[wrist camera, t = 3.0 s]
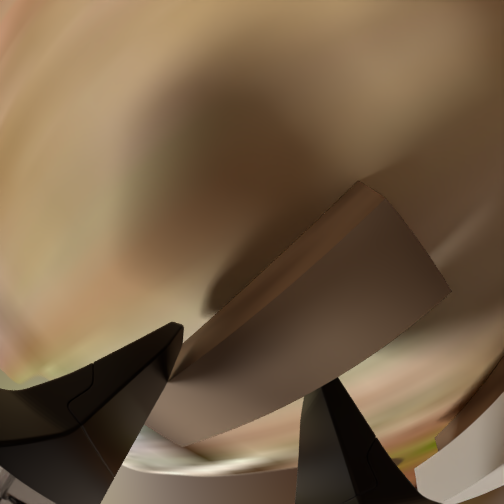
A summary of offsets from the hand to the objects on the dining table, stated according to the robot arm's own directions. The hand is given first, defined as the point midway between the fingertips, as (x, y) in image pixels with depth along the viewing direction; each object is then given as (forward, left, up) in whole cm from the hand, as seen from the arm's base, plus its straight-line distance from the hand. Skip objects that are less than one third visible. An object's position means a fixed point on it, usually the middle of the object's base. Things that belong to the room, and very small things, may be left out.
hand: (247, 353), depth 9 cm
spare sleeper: (0, 0, -1) cm, 1 cm away
